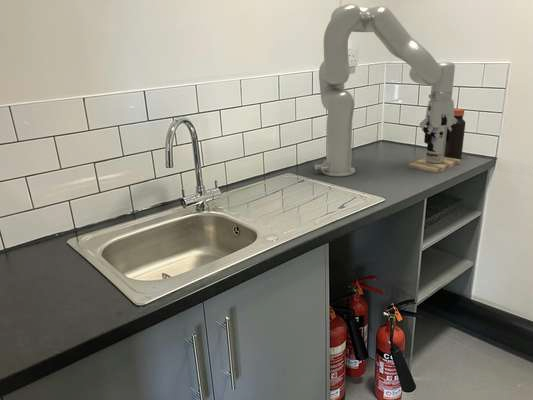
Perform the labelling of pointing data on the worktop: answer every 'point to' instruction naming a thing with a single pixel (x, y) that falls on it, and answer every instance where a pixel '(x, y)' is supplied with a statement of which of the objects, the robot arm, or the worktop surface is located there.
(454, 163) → the oak board
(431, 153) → the spray can
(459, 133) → the bottle
